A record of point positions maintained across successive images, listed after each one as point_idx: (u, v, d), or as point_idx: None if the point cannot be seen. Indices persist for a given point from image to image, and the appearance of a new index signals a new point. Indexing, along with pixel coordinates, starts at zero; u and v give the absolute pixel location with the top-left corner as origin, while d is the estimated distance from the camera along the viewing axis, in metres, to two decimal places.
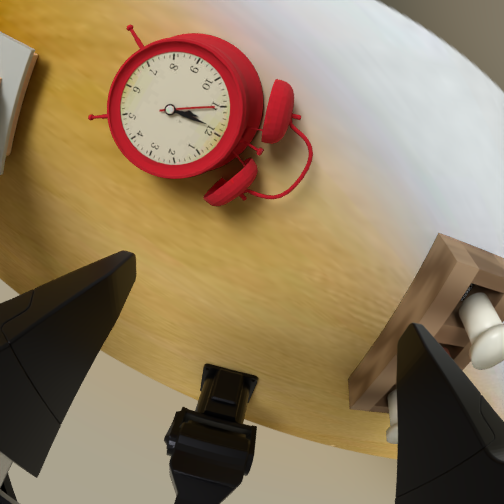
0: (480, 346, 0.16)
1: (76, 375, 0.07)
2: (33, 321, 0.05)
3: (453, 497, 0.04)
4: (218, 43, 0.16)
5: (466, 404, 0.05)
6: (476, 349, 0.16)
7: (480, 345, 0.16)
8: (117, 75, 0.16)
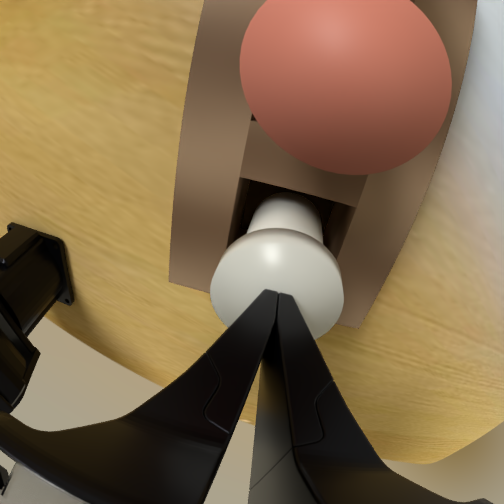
0: None
1: None
2: (238, 397, 0.05)
3: (272, 503, 0.04)
4: None
5: (297, 387, 0.05)
6: None
7: None
8: None
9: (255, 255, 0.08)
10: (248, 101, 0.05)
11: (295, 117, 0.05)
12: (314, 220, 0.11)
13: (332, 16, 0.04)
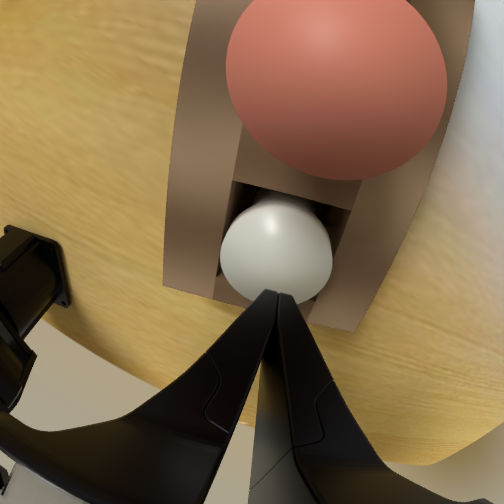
0: None
1: None
2: (239, 397, 0.05)
3: None
4: None
5: (297, 387, 0.05)
6: None
7: None
8: None
9: (258, 222, 0.10)
10: (235, 105, 0.05)
11: (283, 121, 0.05)
12: (308, 200, 0.13)
13: (321, 16, 0.04)
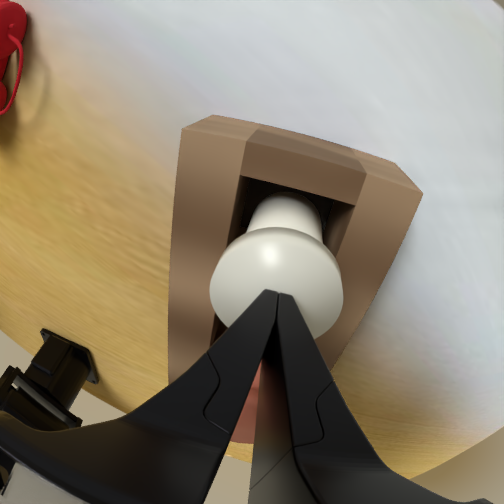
0: (212, 277, 0.09)
1: None
2: (238, 397, 0.05)
3: None
4: None
5: (297, 387, 0.05)
6: (211, 285, 0.09)
7: None
8: None
9: None
10: None
11: None
12: None
13: None
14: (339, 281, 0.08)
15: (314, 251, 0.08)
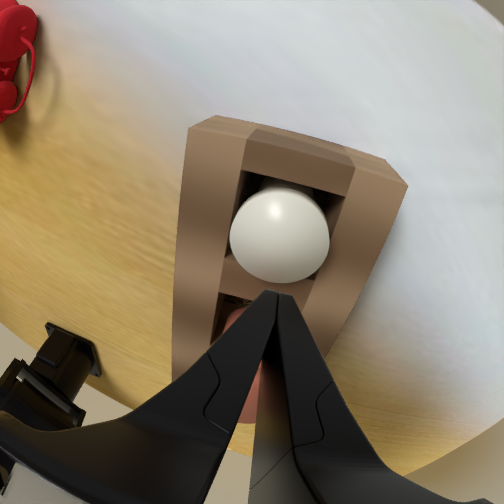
0: (232, 224, 0.12)
1: None
2: (239, 397, 0.05)
3: None
4: None
5: (297, 387, 0.05)
6: (230, 232, 0.13)
7: None
8: None
9: None
10: None
11: None
12: None
13: None
14: (325, 225, 0.12)
15: (306, 202, 0.11)
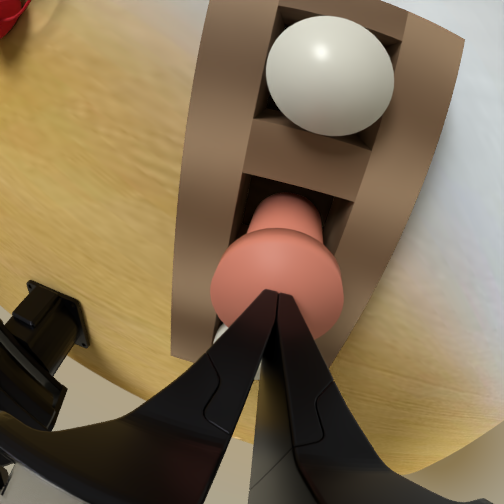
0: (270, 52, 0.08)
1: None
2: (238, 397, 0.05)
3: None
4: None
5: (297, 387, 0.05)
6: (267, 64, 0.08)
7: (270, 51, 0.08)
8: None
9: None
10: (217, 310, 0.10)
11: None
12: None
13: (264, 273, 0.09)
14: (387, 55, 0.07)
15: (362, 27, 0.07)
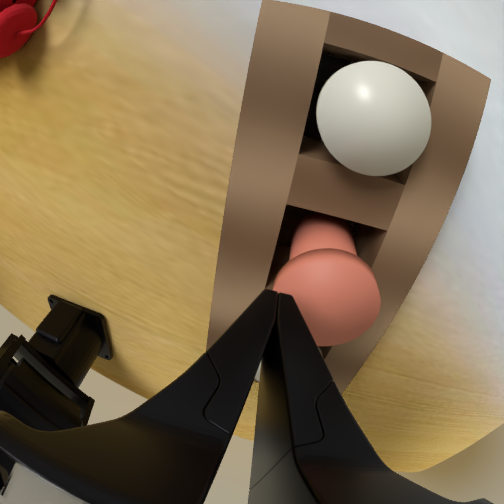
0: (320, 94, 0.09)
1: None
2: (239, 397, 0.05)
3: (272, 503, 0.04)
4: None
5: (297, 387, 0.05)
6: (317, 106, 0.09)
7: (320, 93, 0.09)
8: None
9: None
10: None
11: None
12: None
13: (319, 286, 0.10)
14: (426, 101, 0.08)
15: (405, 73, 0.08)
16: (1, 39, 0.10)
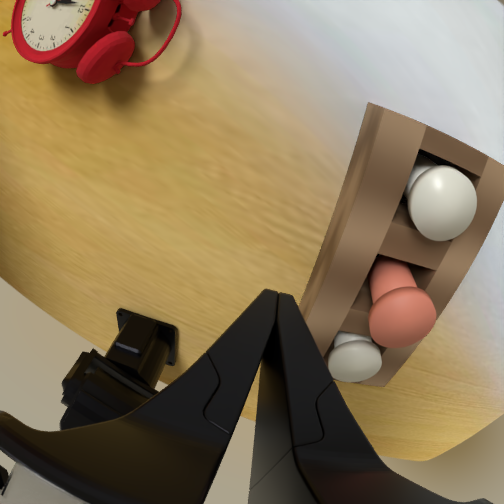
0: (417, 190, 0.14)
1: None
2: (239, 397, 0.05)
3: None
4: None
5: (297, 387, 0.05)
6: (413, 196, 0.14)
7: (417, 189, 0.14)
8: None
9: (352, 352, 0.20)
10: (370, 330, 0.16)
11: (383, 336, 0.16)
12: None
13: (403, 310, 0.15)
14: None
15: None
16: (103, 67, 0.14)
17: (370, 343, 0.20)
